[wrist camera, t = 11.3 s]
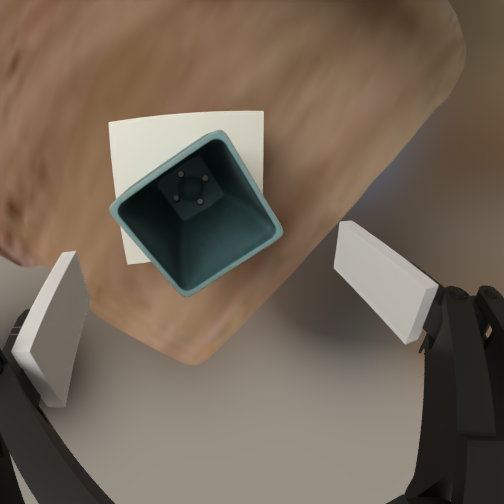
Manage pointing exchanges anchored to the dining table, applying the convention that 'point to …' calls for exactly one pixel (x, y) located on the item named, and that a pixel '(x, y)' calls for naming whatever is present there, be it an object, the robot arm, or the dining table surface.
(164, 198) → the flower pot
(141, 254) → the footstool
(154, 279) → the dining table surface
